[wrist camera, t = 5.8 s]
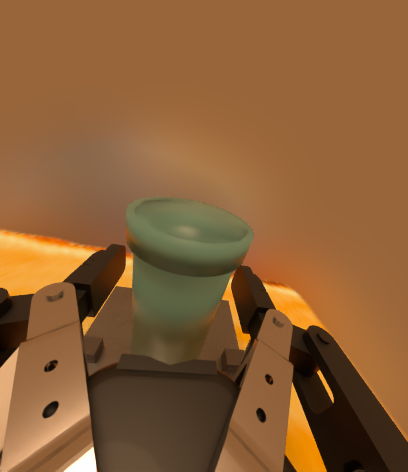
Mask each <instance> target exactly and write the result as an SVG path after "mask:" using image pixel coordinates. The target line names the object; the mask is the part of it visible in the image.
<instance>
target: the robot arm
mask: <svg viewBox="0 0 408 472" xmlns="http://www.w3.org/2000/svg"><path fill="white" fill-rule="evenodd" d="M125 265H126V249H125V246H122V245H117V244H111V245H110V246H109V247H108V248H107V249H106V250H100V251H98V252H96V253H94V254H92V255H91V256H90V257H89V258H88V259H87V260H86V261H85V262H84V263H83V264H82V265H80V266H79V267H78V268H77V269H76V270H75V271H74V272H73V273H72V274H71V275H69V276H68V277H67V278H66V279H65V280H64V281H63V282H60V283H54V284H51V285H48V286H46V287H44V288H42V289H40V290H39V291H37V292H36V293H35V294H28V295H18V296H10V295H9V293H8V291H7V290H6V289H3V288H0V368H1V367H2V366H3V364H4V363H5V362H6V361H7V360H8V359H9V358H10V356H11V355H12V354H13V353H14V352H15V351H16V350H17V349H18V347H19V350H18V356H17V362H16V369H15V375H14V381H13V388H12V394H11V401H10V407H9V414H8V420H7V427H6V433H5V440H4V446H3V450H2V451H1V452H0V472H297V471H296V470H295V468H294V467H293V465H292V464H291V462H290V461H289V459H288V458H287V457H286V455H285V445H286V435H287V425H288V416H289V406H290V396H291V386H292V382H293V385H294V387H295V390H296V392H297V395H298V398H299V400H300V403H301V405H302V408H303V411H304V413H305V416H306V418H307V421H308V423H309V426H310V429H311V431H312V434H313V436H314V439H315V442H316V444H317V447H318V449H319V452H320V455H321V457H322V460H323V462H324V465H325V467H326V470H327V472H408V442H407V441H406V439H405V438H404V436H403V435H402V434H401V432H400V431H399V429H398V428H397V427H396V425H395V424H394V422H393V421H392V420H391V418H390V417H389V415H388V414H387V413H386V411H385V410H384V408H383V407H382V406H381V404H380V403H379V401H378V400H377V398H376V397H375V396H374V394H373V393H372V391H371V390H370V389H369V387H368V386H367V384H366V383H365V382H364V380H363V379H362V377H361V376H360V375H359V373H358V372H357V370H356V369H355V368H354V366H353V365H352V363H351V362H350V361H349V359H348V358H347V356H346V355H345V354H344V352H343V351H342V349H341V348H340V347H339V345H338V344H337V342H336V341H335V340H334V338H333V337H332V336H331V335H330V334H329V333H328V332H326V331H325V330H323V329H322V328H320V327H318V326H314V325H312V326H309V327H308V329H307V330H304V329H302V328H299V327H297V326H295V325H292V323H291V321H290V320H289V319H288V317H287V316H286V315H284V314H283V313H282V312H280V311H278V310H276V308H275V306H274V304H273V303H272V301H271V299H270V297H269V295H268V293H267V292H266V289H265V287H264V285H263V283H262V281H261V280H260V279H259V278H258V277H257V276H256V275H255V274H253V272H252V270H251V268H250V267H248V266H242V265H241V266H240V267H239V268H237V269H236V272H235V274H234V277H233V279H232V283H231V289H232V293H233V297H234V301H235V305H236V309H237V313H238V316H239V320H240V324H241V328H242V332H243V333H245V334H250V336H251V339H250V340H249V343H248V345H247V347H246V350H245V352H244V355H243V357H242V360H241V362H240V365H239V367H238V369H237V371H236V373H235V375H234V377H233V379H231V378H230V377H229V376H228V375H226V374H225V373H223V372H222V371H220V370H218V369H217V363H216V361H211V360H198V359H193V360H189V361H185V362H181V363H177V364H173V365H169V364H166V363H163V362H161V361H158V360H156V359H154V358H151V357H149V356H145V355H132V354H121V357H120V360H119V362H117V363H113V364H110V365H107V366H105V367H103V368H101V369H99V370H97V371H96V372H94V373H92V374H91V375H89V368H88V362H87V356H86V349H85V342H84V335H83V328H82V322H83V321H84V319H85V318H86V316H87V317H95V316H96V314H97V313H98V311H99V310H100V308H101V307H102V305H103V303H104V302H105V300H106V299H107V297H108V296H109V294H110V293H111V291H112V290H113V288H114V286H115V285H116V283H117V282H118V280H119V279H120V277H121V276H122V274H123V272H124V270H125ZM319 370H320V371H321V372H322V374H323V376H324V378H325V380H326V382H327V384H328V385H329V387H330V389H331V391H332V394H333V397H334V403H333V402H332V400H331V399H330V397H329V395H328V393H327V391H326V389H325V387H324V385H323V383H322V381H321V379H320V377H319V375H318V373H317V372H318V371H319Z"/></svg>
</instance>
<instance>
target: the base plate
mask: <svg viewBox="0 0 408 472" xmlns="http://www.w3.org/2000/svg"><path fill="white" fill-rule="evenodd" d="M131 320H132V288H126V287H118V286H116V287H115V289H114V290H113V292H112V293H111V295H110V297H109V298H108V300H107V301H106V303H105V304H104V306H103V308H102V309H101V311H100V312H99V314H98V315H97V317H96V319H95V320H94V322H93V323H92V325H91V326H90V328H89V330H88V331H87V333H86V334H85V336H84V342H85V349H86V356H87V362H88V368H89V375H91V374H92V373H94V372H96V371H97V370H99V369H101V368H103V367H105V366H107V365H110V364H113V363H117V362H119V360H120V357H121V354H131ZM243 355H244V350H239V347H238V343H237V338H236V333H235V329H234V324H233V320H232V315H231V311H230V306H229V301H226V300H221V302H220V305H219V307H218V310H217V313H216V315H215V318H214V320H213V323H212V325H211V328H210V331H209V333H208V336H207V338H206V341H205V343H204V346H203V349H202V351H201V354H200V356H199V359H198V360H211V361H216V363H217V369H218V370H220V371H222V372H223V373H225V374H226V375H228V376H229V377H230V378H231V379H233V377H234V375H235V373H236V371H237V369H238V367H239V365H240V362H241V360H242V357H243Z"/></svg>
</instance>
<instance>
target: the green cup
mask: <svg viewBox="0 0 408 472" xmlns="http://www.w3.org/2000/svg"><path fill="white" fill-rule="evenodd" d="M253 237H254V233H253V230H252V228H251V227H250V226H249V225H248V224H247V223H246V222H245V221H244V220H242V219H241V218H240V217H238V216H236V215H234V214H232V213H230V212H228V211H226V210H224V209H221V208H219V207H216V206H213V205H210V204H206V203H203V202H199V201H194V200H189V199H182V198H175V197H148V198H143V199H138V200H136V201H134V202H132V203H130V204H129V205H128V207H127V209H126V240H127V244H128V246H129V248H130V249H131V251H132V252H133V284H132V320H131V354H132V355H145V356H149V357H151V358H154V359H156V360H158V361H161V362H163V363H166V364H169V365H173V364H177V363H181V362H185V361H189V360H193V359H199V356H200V354H201V351H202V349H203V346H204V343H205V341H206V338H207V336H208V333H209V331H210V328H211V325H212V323H213V320H214V318H215V315H216V313H217V310H218V307H219V305H220V302H221V300H222V297H223V295H224V292H225V289H226V287H227V284H228V282H229V279H230V277H231V274H232V271H234V270H236V269H237V268H239V267H240V266H241V264H242V263H243V261H244V259H245V257H246V254H247V252H248V249H249V247H250V244H251V242H252V240H253Z"/></svg>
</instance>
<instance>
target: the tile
mask: <svg viewBox="0 0 408 472" xmlns="http://www.w3.org/2000/svg"><path fill="white" fill-rule="evenodd" d="M18 350H19V347H18V349H17V350H16V351H15V352H14V353H13V354H12V355H11V356H10V358H9V359H8V360H7V361H6V362H5V363H4V364H3V366H2V367H1V368H0V452H1V451H2V450H3V446H4V440H5V433H6V427H7V420H8V414H9V407H10V401H11V394H12V388H13V381H14V375H15V369H16V362H17V356H18Z"/></svg>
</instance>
